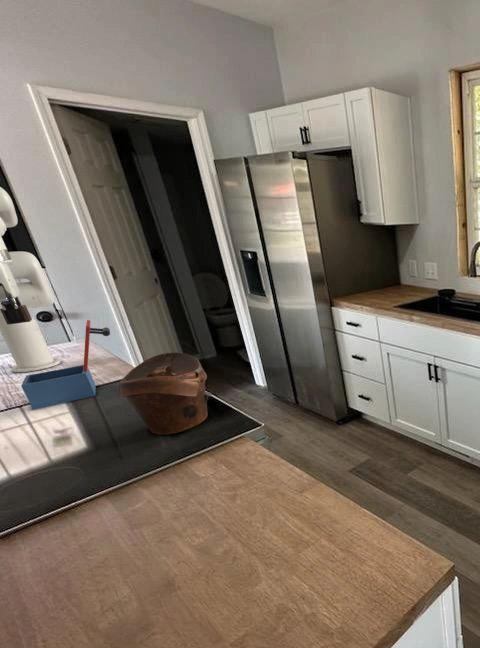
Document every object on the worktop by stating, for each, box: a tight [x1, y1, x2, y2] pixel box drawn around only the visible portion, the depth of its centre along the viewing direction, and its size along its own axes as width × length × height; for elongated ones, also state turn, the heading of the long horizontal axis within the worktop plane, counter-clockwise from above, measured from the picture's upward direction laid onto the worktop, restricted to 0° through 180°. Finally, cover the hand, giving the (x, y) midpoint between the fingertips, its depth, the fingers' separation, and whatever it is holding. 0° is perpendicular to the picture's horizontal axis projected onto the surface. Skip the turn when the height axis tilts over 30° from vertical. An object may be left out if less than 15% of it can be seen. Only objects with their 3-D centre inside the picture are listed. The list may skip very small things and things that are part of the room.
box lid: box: [83, 319, 111, 372], centre depth 132 cm, size 14×12×5 cm
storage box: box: [20, 364, 97, 410], centre depth 129 cm, size 14×12×8 cm
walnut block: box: [0, 305, 33, 325], centre depth 120 cm, size 4×4×4 cm
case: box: [118, 352, 213, 436], centre depth 108 cm, size 18×20×18 cm
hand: (19, 320), depth 120 cm, fingers closed on walnut block, 4 cm apart
